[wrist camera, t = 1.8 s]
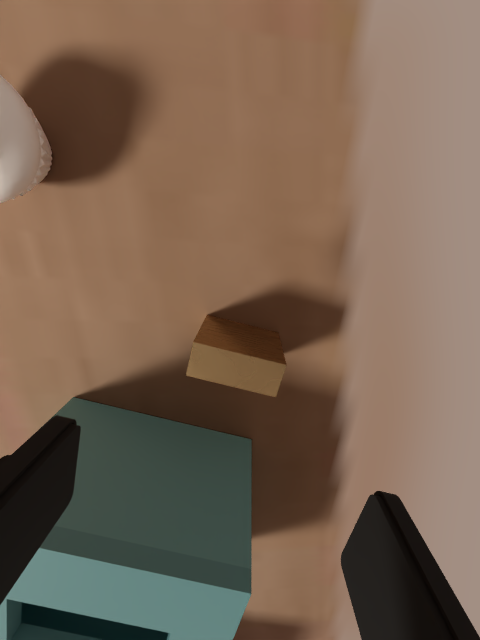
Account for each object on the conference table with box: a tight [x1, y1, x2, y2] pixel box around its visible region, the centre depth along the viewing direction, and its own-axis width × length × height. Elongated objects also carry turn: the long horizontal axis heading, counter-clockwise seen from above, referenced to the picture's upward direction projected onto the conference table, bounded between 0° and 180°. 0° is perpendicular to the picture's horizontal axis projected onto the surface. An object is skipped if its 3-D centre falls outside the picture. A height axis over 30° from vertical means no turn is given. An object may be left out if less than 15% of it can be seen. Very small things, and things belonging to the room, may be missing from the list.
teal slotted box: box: [0, 397, 252, 640], centre depth 19 cm, size 12×14×10 cm
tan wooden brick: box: [186, 315, 286, 397], centre depth 18 cm, size 2×5×5 cm, turn 76°
